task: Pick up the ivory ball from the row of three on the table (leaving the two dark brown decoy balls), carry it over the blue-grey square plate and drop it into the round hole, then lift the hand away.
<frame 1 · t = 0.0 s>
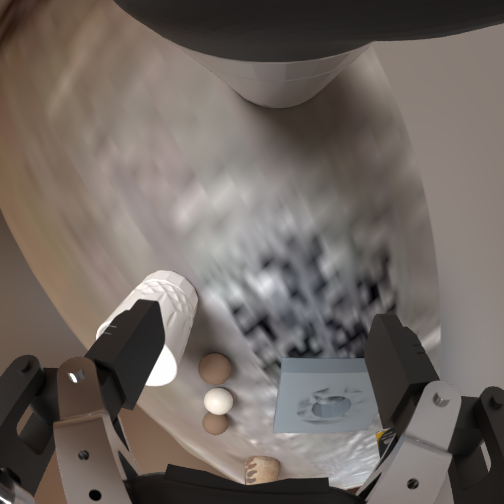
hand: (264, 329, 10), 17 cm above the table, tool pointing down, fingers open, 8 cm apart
blue-grey square plate: (330, 394, 36), on the table
ball: (218, 401, 35), point 2 cm above the table
white cup: (170, 294, 31), on the table
medicine bottle: (395, 431, 41), on the table
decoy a: (214, 369, 33), point 2 cm above the table
decoy b: (215, 423, 38), point 2 cm above the table
figurine: (262, 461, 48), on the table
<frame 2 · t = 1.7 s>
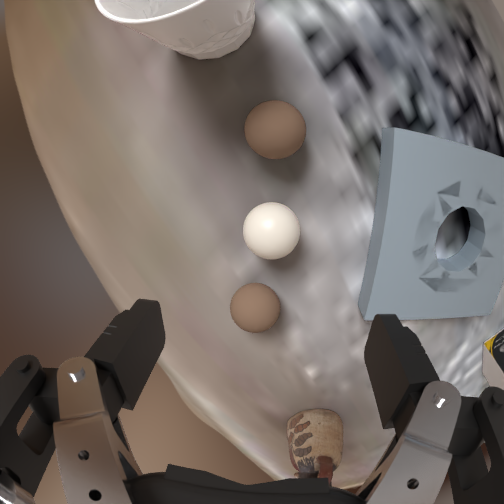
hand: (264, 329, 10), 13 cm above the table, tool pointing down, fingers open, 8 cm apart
blue-grey square plate: (447, 230, 21), on the table
ball: (271, 230, 20), point 2 cm above the table
white cup: (211, 24, 16), on the table
medicine bottle: (500, 343, 25), on the table
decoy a: (275, 129, 17), point 2 cm above the table
decoy b: (255, 307, 23), point 2 cm above the table
figurine: (314, 421, 32), on the table
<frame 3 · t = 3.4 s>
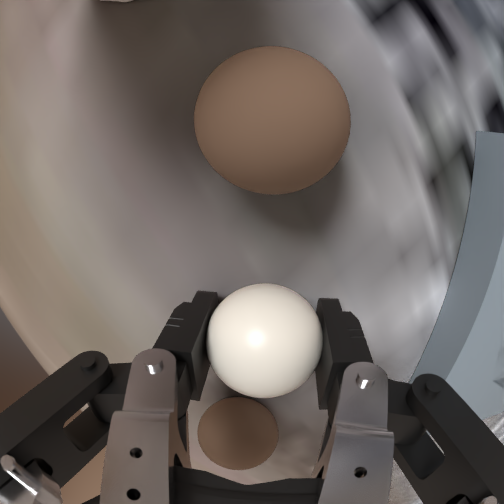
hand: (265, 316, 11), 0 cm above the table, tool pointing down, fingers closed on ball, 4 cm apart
ball: (264, 341, 10), point 2 cm above the table, touching gripper
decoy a: (272, 119, 7), point 2 cm above the table
decoy b: (237, 433, 12), point 2 cm above the table
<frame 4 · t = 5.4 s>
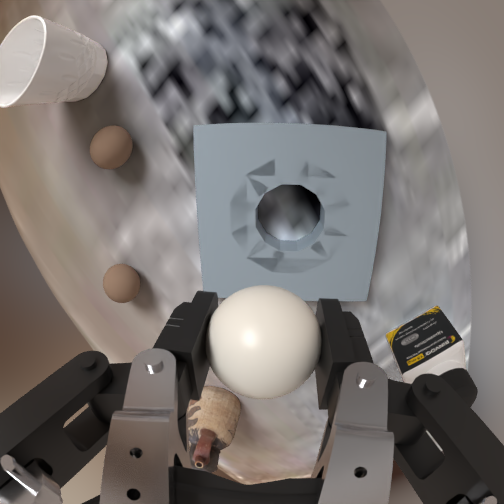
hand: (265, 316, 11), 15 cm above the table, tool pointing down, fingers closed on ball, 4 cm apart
blue-grey square plate: (289, 211, 25), on the table
ball: (263, 342, 10), point 17 cm above the table, touching gripper
white cup: (83, 71, 21), on the table
medicine bottle: (416, 336, 29), on the table
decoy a: (111, 147, 22), point 2 cm above the table
decoy b: (121, 283, 27), point 2 cm above the table
figurine: (216, 399, 36), on the table
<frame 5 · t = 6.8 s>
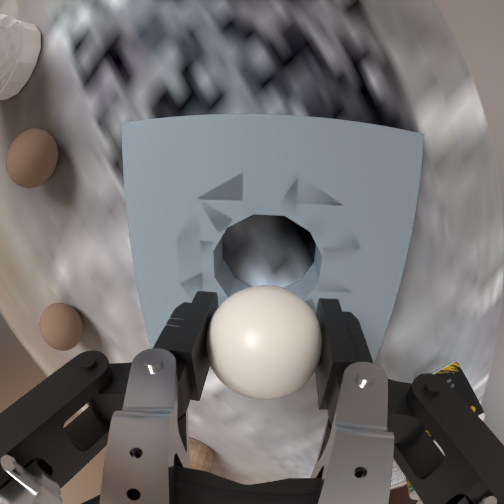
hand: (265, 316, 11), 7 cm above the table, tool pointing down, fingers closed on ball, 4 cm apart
blue-grey square plate: (268, 248, 17), on the table
ball: (264, 342, 10), point 8 cm above the table, touching gripper
white cup: (18, 61, 13), on the table
medicine bottle: (426, 393, 22), on the table
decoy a: (31, 157, 14), point 2 cm above the table
decoy b: (61, 326, 19), point 2 cm above the table
figurine: (186, 446, 28), on the table
when the fingers open (4 cm above the table, at t = 7.6 s): ball drops 4 cm, point 2 cm above the table.
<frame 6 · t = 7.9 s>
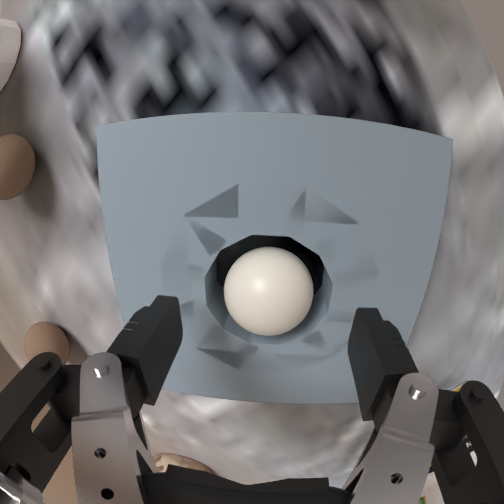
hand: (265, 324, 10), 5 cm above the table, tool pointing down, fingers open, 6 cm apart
blue-grey square plate: (269, 270, 15), on the table
ball: (268, 291, 13), point 2 cm above the table
medicine bottle: (435, 413, 19), on the table
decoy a: (7, 166, 12), point 2 cm above the table
decoy b: (46, 347, 17), point 2 cm above the table
figurine: (183, 464, 26), on the table
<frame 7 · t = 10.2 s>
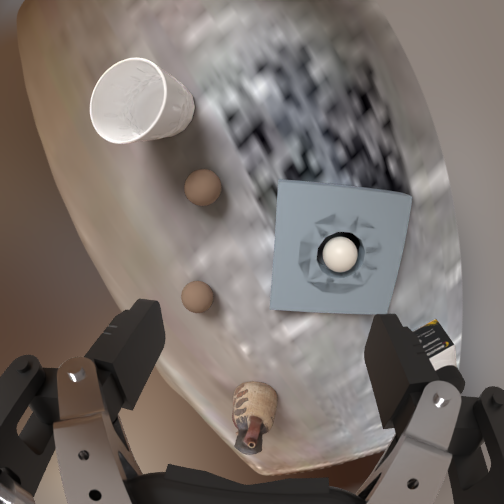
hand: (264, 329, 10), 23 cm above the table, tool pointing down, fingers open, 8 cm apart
blue-grey square plate: (337, 247, 33), on the table
ball: (340, 254, 31), point 2 cm above the table
white cup: (168, 109, 29), on the table
medicine bottle: (419, 342, 37), on the table
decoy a: (202, 187, 30), point 2 cm above the table
decoy b: (197, 297, 35), point 2 cm above the table
figurine: (255, 393, 44), on the table
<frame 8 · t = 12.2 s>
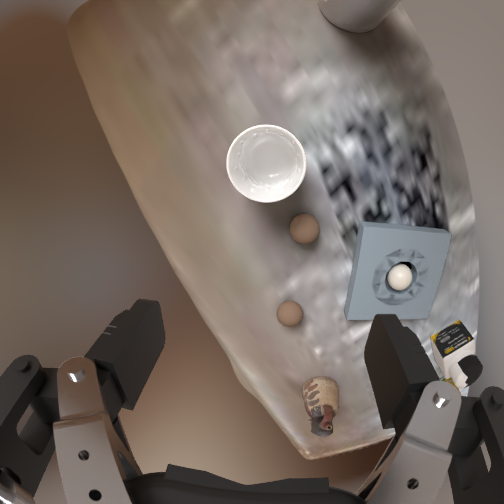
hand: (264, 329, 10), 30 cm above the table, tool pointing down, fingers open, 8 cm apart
supplement bottle: (442, 382, 50), on the table
blue-grey square plate: (395, 271, 41), on the table
ball: (399, 277, 39), point 2 cm above the table
white cup: (269, 157, 37), on the table
medicine bottle: (446, 337, 45), on the table
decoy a: (304, 228, 38), point 2 cm above the table
decoy b: (289, 313, 43), point 2 cm above the table
figurine: (319, 386, 52), on the table
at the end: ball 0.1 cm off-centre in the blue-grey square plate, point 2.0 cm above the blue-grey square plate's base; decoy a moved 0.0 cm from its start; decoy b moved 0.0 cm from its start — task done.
